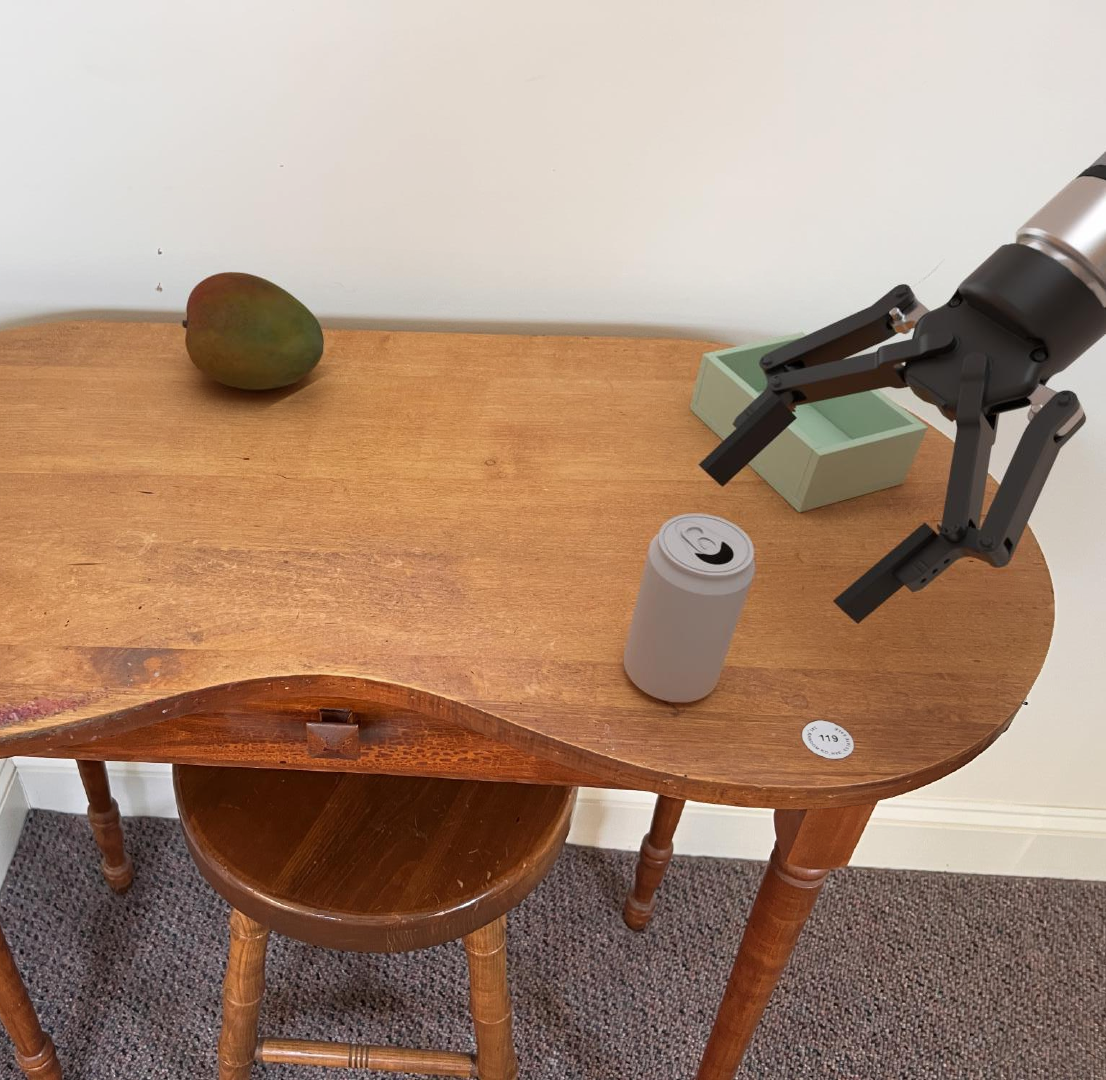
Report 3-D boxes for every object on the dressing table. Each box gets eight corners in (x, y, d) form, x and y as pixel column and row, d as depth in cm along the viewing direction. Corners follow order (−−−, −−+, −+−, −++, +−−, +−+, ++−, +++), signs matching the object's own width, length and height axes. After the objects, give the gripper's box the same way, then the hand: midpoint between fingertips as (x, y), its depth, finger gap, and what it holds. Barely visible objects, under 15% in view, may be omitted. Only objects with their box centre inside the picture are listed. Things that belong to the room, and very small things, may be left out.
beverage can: (662, 723, 67) (702, 592, 59) (601, 658, 71) (631, 527, 63) (736, 687, 69) (784, 556, 61) (673, 626, 73) (710, 496, 65)
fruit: (191, 347, 100) (178, 252, 94) (320, 340, 102) (316, 246, 95) (188, 416, 92) (174, 316, 85) (328, 408, 93) (325, 309, 86)
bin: (903, 484, 86) (928, 427, 82) (798, 513, 83) (820, 455, 79) (785, 386, 97) (802, 331, 93) (689, 408, 94) (702, 353, 90)
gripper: (1274, 432, 53) (935, 700, 59) (923, 227, 70) (688, 451, 76) (1261, 362, 48) (892, 663, 54) (886, 160, 65) (638, 405, 71)
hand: (772, 539), depth 65 cm, fingers open, 13 cm apart
